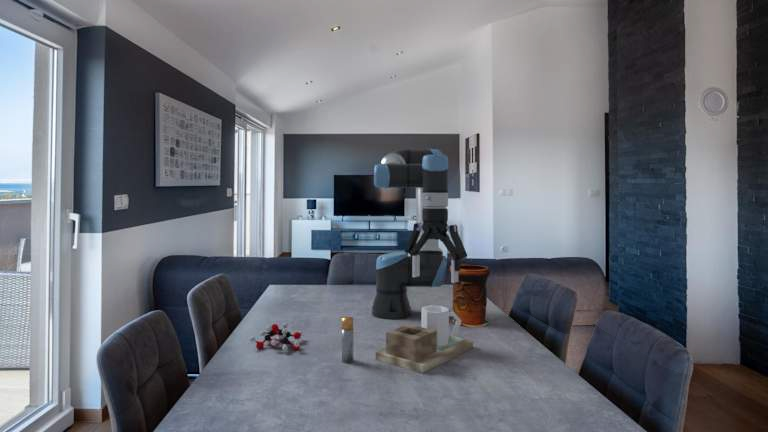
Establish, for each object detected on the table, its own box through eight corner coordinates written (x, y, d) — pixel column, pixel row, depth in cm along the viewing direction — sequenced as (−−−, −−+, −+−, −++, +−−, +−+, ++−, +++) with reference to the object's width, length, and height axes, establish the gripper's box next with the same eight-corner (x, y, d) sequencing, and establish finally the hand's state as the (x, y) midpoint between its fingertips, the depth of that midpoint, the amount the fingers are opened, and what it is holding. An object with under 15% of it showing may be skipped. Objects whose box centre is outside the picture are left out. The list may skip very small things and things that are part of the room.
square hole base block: (375, 359, 129) (375, 330, 129) (428, 336, 149) (428, 312, 148) (422, 373, 119) (422, 342, 118) (472, 347, 139) (473, 321, 138)
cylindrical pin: (339, 361, 128) (339, 318, 127) (347, 358, 130) (347, 315, 129) (347, 364, 125) (347, 320, 125) (355, 360, 128) (355, 317, 127)
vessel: (440, 321, 166) (441, 266, 165) (462, 314, 176) (463, 262, 176) (474, 330, 156) (476, 271, 155) (496, 322, 167) (497, 267, 166)
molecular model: (277, 335, 150) (317, 331, 145) (261, 367, 140) (303, 363, 135) (262, 313, 146) (303, 307, 140) (244, 343, 135) (287, 338, 130)
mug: (424, 347, 132) (424, 313, 132) (418, 337, 141) (418, 305, 140) (464, 345, 134) (465, 311, 134) (456, 336, 143) (456, 304, 142)
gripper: (393, 207, 141) (393, 276, 142) (466, 208, 125) (465, 286, 126) (408, 206, 147) (408, 272, 148) (479, 208, 131) (478, 282, 132)
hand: (434, 279), depth 137 cm, fingers open, 13 cm apart
